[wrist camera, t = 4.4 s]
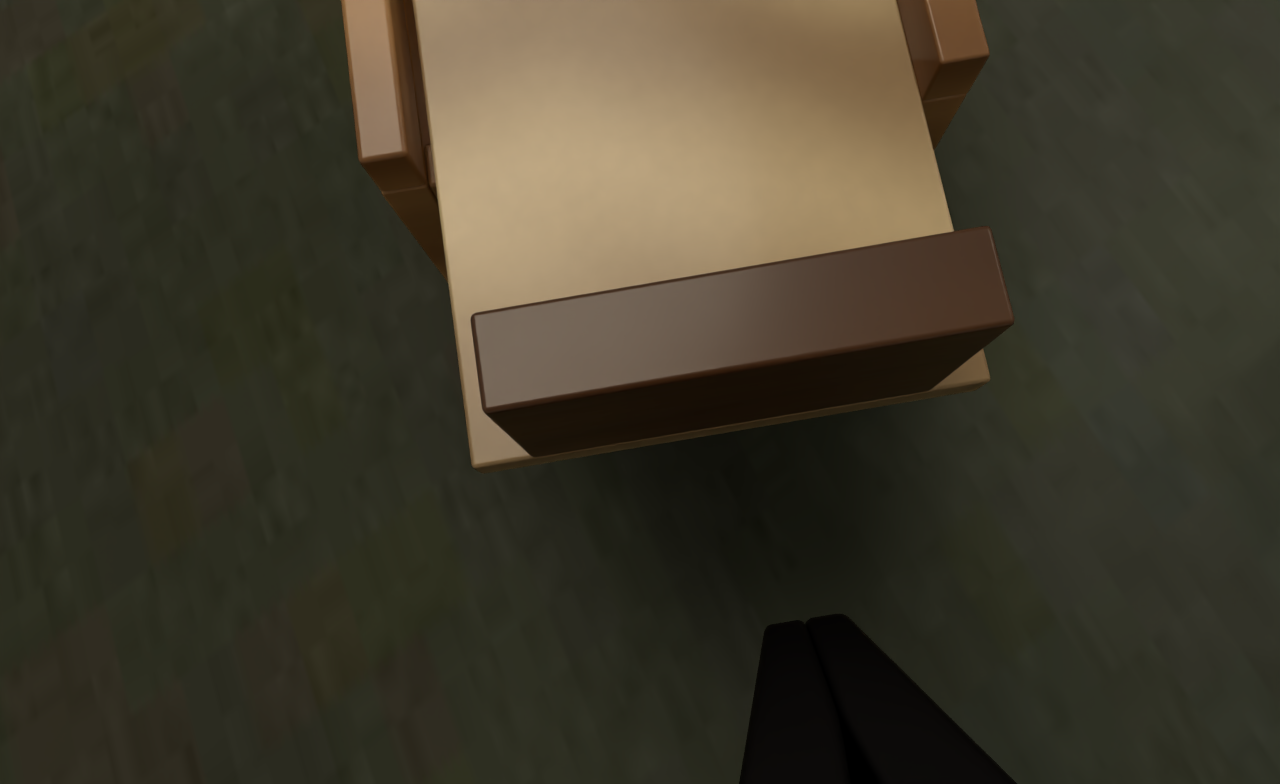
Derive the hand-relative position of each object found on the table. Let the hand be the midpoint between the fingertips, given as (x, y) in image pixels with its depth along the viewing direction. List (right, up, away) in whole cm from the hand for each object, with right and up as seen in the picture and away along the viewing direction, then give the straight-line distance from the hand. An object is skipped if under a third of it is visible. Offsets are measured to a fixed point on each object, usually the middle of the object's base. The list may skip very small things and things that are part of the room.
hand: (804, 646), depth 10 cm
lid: (-1, +8, +6) cm, 10 cm away
